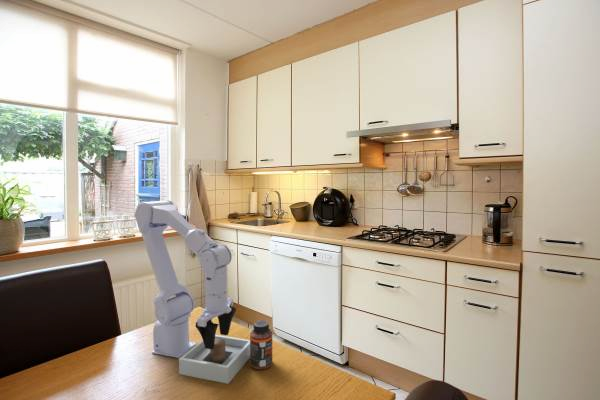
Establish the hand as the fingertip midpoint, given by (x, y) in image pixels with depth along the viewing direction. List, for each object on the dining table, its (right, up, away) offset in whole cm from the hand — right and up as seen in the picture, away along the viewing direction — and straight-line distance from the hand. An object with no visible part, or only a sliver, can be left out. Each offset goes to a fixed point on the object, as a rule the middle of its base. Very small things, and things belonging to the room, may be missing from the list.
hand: (217, 341), depth 87 cm
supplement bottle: (+12, -6, 0) cm, 14 cm away
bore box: (0, -6, 0) cm, 6 cm away
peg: (0, -6, 0) cm, 6 cm away
